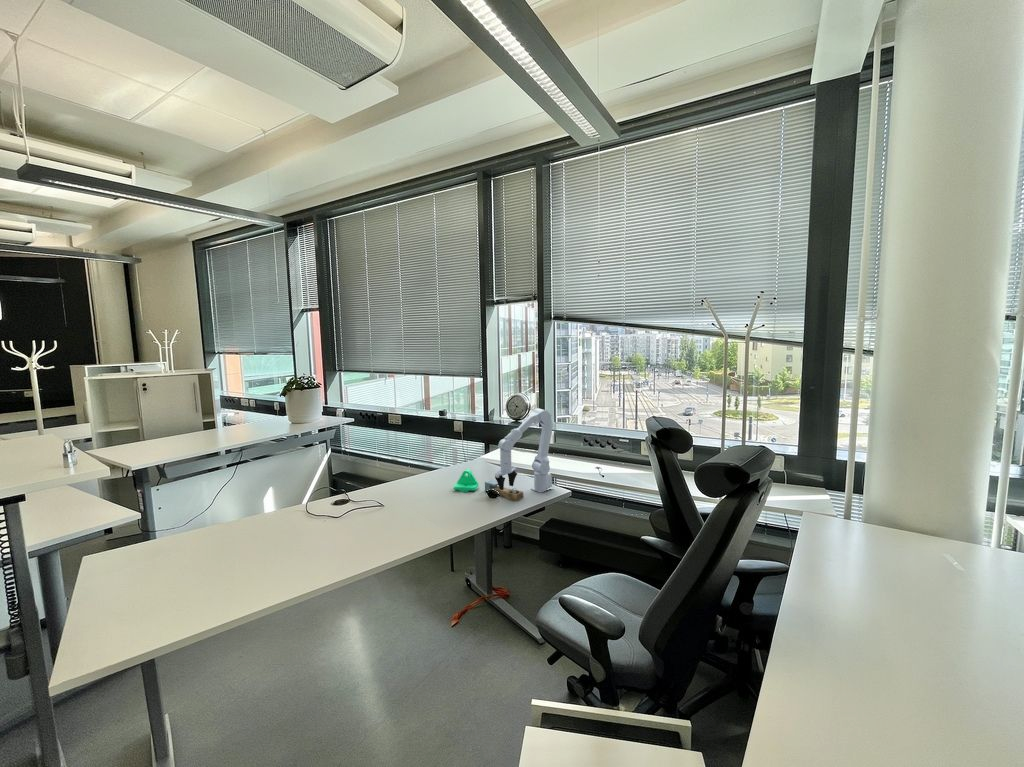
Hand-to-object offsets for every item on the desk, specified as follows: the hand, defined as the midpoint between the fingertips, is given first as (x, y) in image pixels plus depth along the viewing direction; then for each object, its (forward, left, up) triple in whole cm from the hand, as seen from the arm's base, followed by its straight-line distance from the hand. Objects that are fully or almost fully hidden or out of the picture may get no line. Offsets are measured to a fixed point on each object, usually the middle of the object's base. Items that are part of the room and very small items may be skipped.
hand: (506, 487), depth 233 cm
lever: (0, 0, -4) cm, 4 cm away
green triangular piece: (+11, -22, -5) cm, 25 cm away
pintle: (-1, +5, -4) cm, 7 cm away
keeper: (+2, -9, -4) cm, 11 cm away
